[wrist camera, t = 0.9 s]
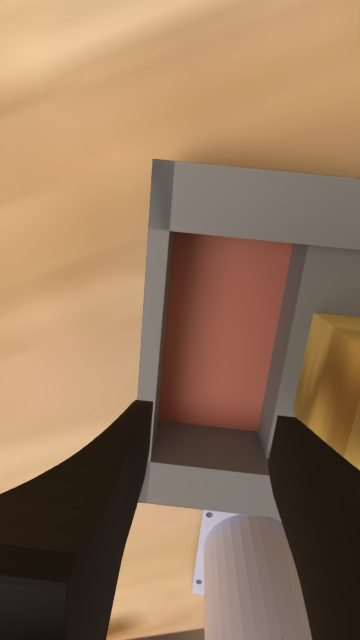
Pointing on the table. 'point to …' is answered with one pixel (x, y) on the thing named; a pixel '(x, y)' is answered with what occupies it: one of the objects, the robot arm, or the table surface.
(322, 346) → the block
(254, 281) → the trap track
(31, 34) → the table surface
